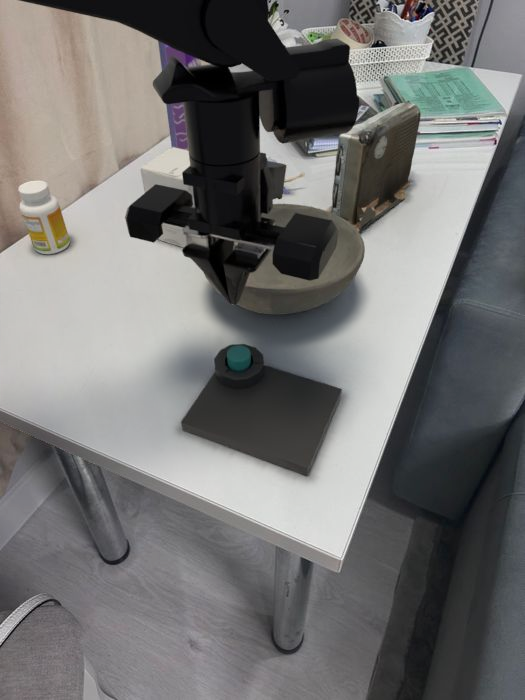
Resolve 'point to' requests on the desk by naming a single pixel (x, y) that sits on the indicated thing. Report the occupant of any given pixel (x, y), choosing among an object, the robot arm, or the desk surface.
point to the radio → (374, 164)
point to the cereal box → (176, 109)
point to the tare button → (239, 358)
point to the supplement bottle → (43, 218)
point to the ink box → (168, 184)
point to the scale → (264, 412)
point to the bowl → (295, 293)
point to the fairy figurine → (286, 179)
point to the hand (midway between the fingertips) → (234, 302)
